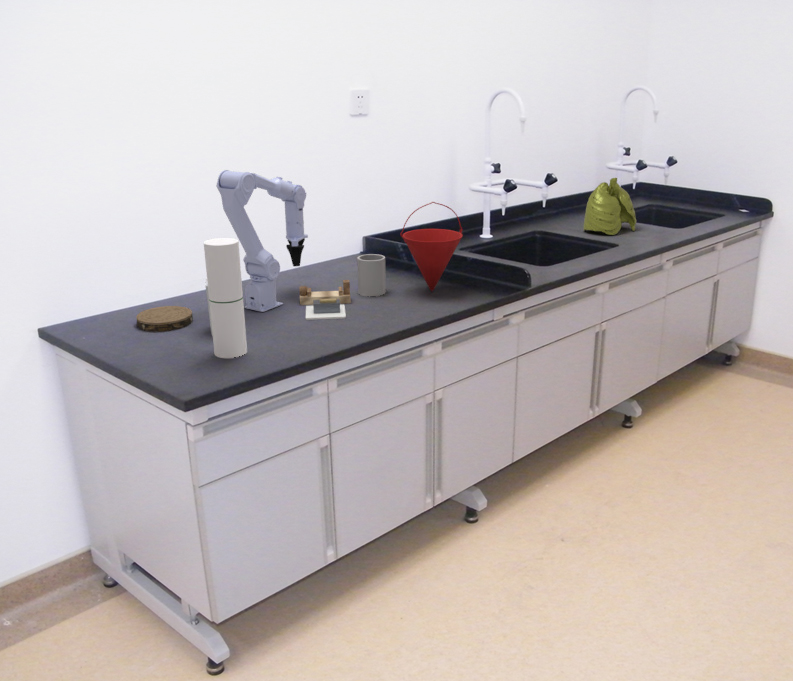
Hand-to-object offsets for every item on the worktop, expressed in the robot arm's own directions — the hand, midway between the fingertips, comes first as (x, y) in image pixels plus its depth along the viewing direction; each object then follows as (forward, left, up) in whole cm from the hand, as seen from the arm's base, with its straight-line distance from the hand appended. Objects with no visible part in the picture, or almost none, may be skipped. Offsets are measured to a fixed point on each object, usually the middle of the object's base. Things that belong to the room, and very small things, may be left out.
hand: (296, 263), depth 248 cm
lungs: (+148, -55, -11) cm, 158 cm away
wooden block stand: (-2, -13, -10) cm, 17 cm away
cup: (+14, -20, -11) cm, 27 cm away
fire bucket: (+26, -36, -11) cm, 46 cm away
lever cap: (-11, -21, -10) cm, 26 cm away
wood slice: (-44, +14, -11) cm, 47 cm away
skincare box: (-40, -5, -11) cm, 42 cm away
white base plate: (-11, -21, -10) cm, 26 cm away
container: (-51, -20, -11) cm, 56 cm away
